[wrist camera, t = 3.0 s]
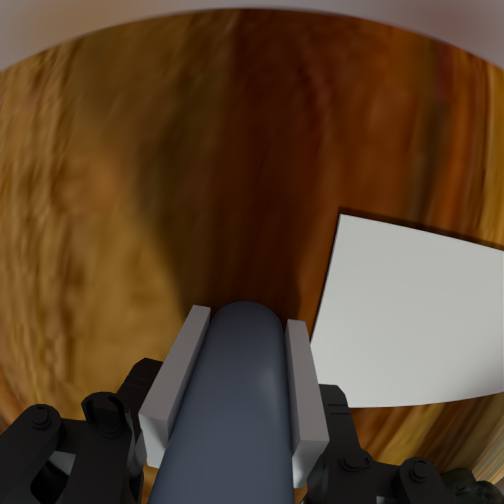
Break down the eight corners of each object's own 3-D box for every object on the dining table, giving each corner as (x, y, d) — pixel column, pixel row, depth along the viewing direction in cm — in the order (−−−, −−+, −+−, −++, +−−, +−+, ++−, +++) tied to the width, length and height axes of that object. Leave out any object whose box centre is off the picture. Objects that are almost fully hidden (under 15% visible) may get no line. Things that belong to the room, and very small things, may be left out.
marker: (206, 357, 14) (131, 612, 2) (212, 295, 13) (90, 609, 1) (275, 367, 14) (275, 632, 2) (289, 306, 13) (322, 639, 1)
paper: (292, 402, 14) (292, 404, 14) (339, 213, 12) (341, 214, 11) (520, 386, 14) (521, 387, 14) (569, 271, 11) (570, 272, 11)
